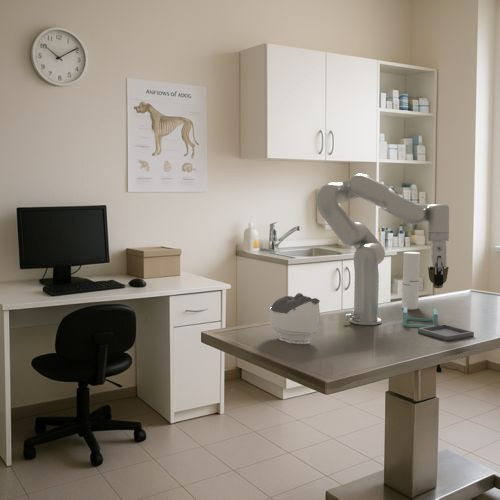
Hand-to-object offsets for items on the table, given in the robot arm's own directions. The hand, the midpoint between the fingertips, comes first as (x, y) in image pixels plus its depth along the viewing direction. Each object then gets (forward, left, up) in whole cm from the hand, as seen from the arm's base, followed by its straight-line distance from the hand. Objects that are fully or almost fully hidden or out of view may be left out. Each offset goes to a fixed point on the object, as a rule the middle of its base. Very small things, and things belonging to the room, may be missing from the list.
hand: (437, 283), depth 233 cm
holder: (+2, +10, -18) cm, 21 cm away
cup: (0, 0, -2) cm, 2 cm away
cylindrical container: (+21, +35, -18) cm, 45 cm away
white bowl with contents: (-56, +13, -19) cm, 61 cm away
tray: (-2, -7, -18) cm, 20 cm away
